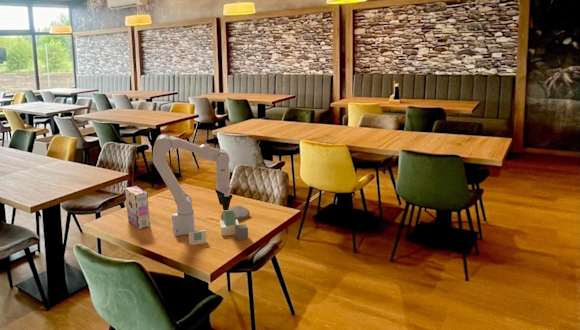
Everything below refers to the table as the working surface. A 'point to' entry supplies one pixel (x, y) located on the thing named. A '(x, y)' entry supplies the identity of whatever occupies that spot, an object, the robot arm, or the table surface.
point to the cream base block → (227, 228)
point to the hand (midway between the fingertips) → (224, 207)
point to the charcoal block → (241, 232)
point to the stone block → (238, 212)
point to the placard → (197, 237)
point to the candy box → (137, 207)
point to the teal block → (229, 218)
